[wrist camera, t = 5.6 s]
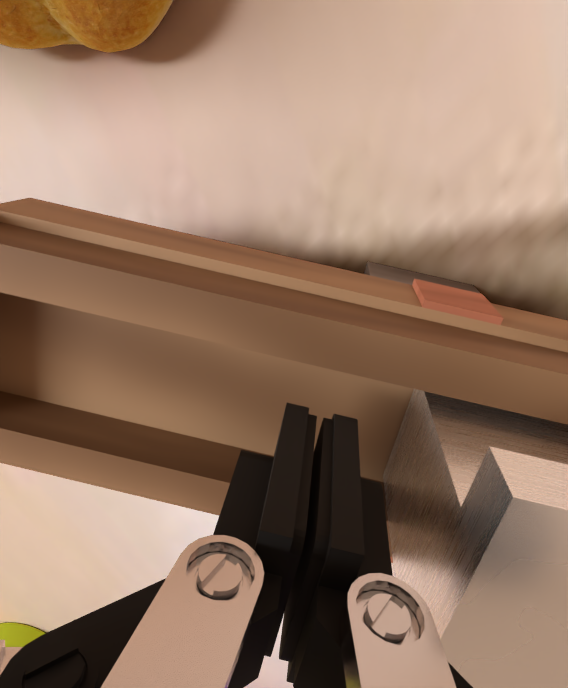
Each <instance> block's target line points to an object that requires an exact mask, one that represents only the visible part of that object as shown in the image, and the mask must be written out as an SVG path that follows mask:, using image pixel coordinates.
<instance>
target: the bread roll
mask: <svg viewBox="0 0 568 688" xmlns="http://www.w3.org/2000/svg"><path fill="white" fill-rule="evenodd" d="M172 2H173V0H0V44H2V45H6V46H9V47H12V48H22V49H37V48H46V47H54V46H58V45H63V44H79V45H85V46H86V47H89V48H91V49H95V50H99V51H103V52H110V53H111V52H117V51H122V50H126V49H130V48H134V47H135V46H137V45H139V44H141V43H142V42H143V41H145V40H146V39H147V38H148V37H149V36H150V35H151V34H152V33H153V31H154V30H155V29H156V28H157V26H158V25H159V24H160V22H161V20H162V19H163V17H164V16H165V14H166V13H167V11H168V9H169V8H170V6H171V4H172Z"/></svg>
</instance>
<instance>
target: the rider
mask: <svg viewBox="0 0 568 688" xmlns="http://www.w3.org/2000/svg"><path fill="white" fill-rule="evenodd" d="M383 480H384V489H385V497H386V506H387V514H388V523H389V531H390V540H391V549H392V557H393V566H394V574H395V577H396V578H398V579H400V580H402V581H404V582H406V583H407V584H408V585H409V586H411V587H412V588H413V589H414V590H416V591H417V592H418V594H419V595H420V596H421V597H422V598H423V600H424V601H425V602H426V604H427V606H428V608H429V610H430V612H431V614H432V616H433V619H434V622H435V625H436V628H437V631H438V634H439V637H440V640H441V643H442V646H443V649H444V652H445V655H446V658H447V661H448V662H449V663H450V664H451V665H452V666H453V667H454V668H455V669H456V670H457V671H458V673H459V674H460V675H461V676H462V677H463V678H464V679H465V680H466V681H467V682H468V683H469V684H470V685H471V686H472V687H473V688H568V425H567V424H563V423H558V422H554V421H550V420H546V419H541V418H537V417H533V416H528V415H524V414H520V413H515V412H511V411H507V410H503V409H498V408H494V407H490V406H485V405H481V404H477V403H473V402H468V401H464V400H460V399H455V398H451V397H447V396H443V395H438V394H434V393H430V392H425V391H421V390H417V389H414V391H413V393H412V396H411V399H410V402H409V405H408V407H407V410H406V413H405V416H404V418H403V421H402V424H401V427H400V430H399V432H398V435H397V438H396V441H395V443H394V446H393V449H392V452H391V455H390V457H389V460H388V463H387V466H386V468H385V471H384V474H383Z"/></svg>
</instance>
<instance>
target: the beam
mask: <svg viewBox="0 0 568 688" xmlns="http://www.w3.org/2000/svg"><path fill="white" fill-rule="evenodd" d="M414 389H417V390H421V391H425V392H430V393H434V394H438V395H443V396H447V397H451V398H455V399H460V400H464V401H468V402H473V403H477V404H481V405H485V406H490V407H494V408H498V409H503V410H507V411H511V412H515V413H520V414H524V415H528V416H533V417H537V418H541V419H546V420H550V421H554V422H558V423H563V424H567V425H568V321H567V320H563V319H559V318H554V317H550V316H545V315H541V314H537V313H532V312H528V311H523V310H519V309H515V308H510V307H506V306H502V305H497V304H493V303H490V302H489V301H488V300H487V299H486V298H485V296H484V295H483V294H481V293H480V292H479V291H478V290H477V289H476V288H475V286H474V285H469V284H465V283H460V282H456V281H452V280H447V279H443V278H438V277H434V276H430V275H425V274H421V273H417V272H412V271H408V270H403V269H399V268H395V267H390V266H386V265H381V264H377V263H373V262H368V261H367V265H366V268H365V272H364V274H362V273H357V272H353V271H348V270H344V269H340V268H335V267H331V266H327V265H322V264H318V263H313V262H309V261H305V260H300V259H296V258H291V257H287V256H283V255H278V254H274V253H270V252H265V251H261V250H256V249H252V248H248V247H243V246H239V245H235V244H230V243H226V242H221V241H217V240H213V239H208V238H204V237H200V236H195V235H191V234H186V233H182V232H178V231H173V230H169V229H165V228H160V227H156V226H151V225H147V224H143V223H138V222H134V221H130V220H125V219H121V218H116V217H112V216H108V215H103V214H99V213H95V212H90V211H86V210H81V209H77V208H73V207H68V206H64V205H59V204H55V203H51V202H46V201H42V200H38V199H33V198H26V199H21V200H16V201H11V202H6V203H1V204H0V463H4V464H8V465H12V466H16V467H21V468H25V469H29V470H33V471H37V472H41V473H45V474H50V475H54V476H58V477H62V478H66V479H70V480H75V481H79V482H83V483H87V484H91V485H95V486H99V487H104V488H108V489H112V490H116V491H120V492H124V493H128V494H133V495H137V496H141V497H145V498H149V499H153V500H157V501H162V502H166V503H170V504H174V505H178V506H182V507H186V508H191V509H195V510H199V511H203V512H207V513H211V514H215V515H220V513H221V510H222V507H223V504H224V500H225V497H226V494H227V491H228V488H229V485H230V482H231V479H232V476H233V473H234V470H235V467H236V464H237V461H238V457H239V455H240V452H241V450H245V451H250V452H254V453H258V454H262V455H266V456H271V457H274V453H275V449H276V445H277V441H278V436H279V432H280V428H281V424H282V420H283V415H284V411H285V407H286V403H292V404H296V405H300V406H304V407H308V408H309V414H311V415H315V416H317V422H316V432H315V443H314V449H315V445H316V442H317V438H318V435H319V431H320V428H321V424H322V421H323V418H328V419H332V417H333V414H338V415H342V416H347V417H351V418H355V419H357V420H358V437H359V456H360V476H361V478H363V479H367V480H371V481H375V482H380V483H381V484H382V488H383V496H384V505H385V514H386V523H387V531H388V540H389V549H390V558H391V563H393V557H392V549H391V540H390V531H389V523H388V514H387V506H386V497H385V489H384V480H383V474H384V471H385V468H386V466H387V463H388V460H389V457H390V455H391V452H392V449H393V446H394V443H395V441H396V438H397V435H398V432H399V430H400V427H401V424H402V421H403V418H404V416H405V413H406V410H407V407H408V405H409V402H410V399H411V396H412V393H413V391H414Z"/></svg>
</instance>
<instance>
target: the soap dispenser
mask: <svg viewBox="0 0 568 688" xmlns="http://www.w3.org/2000/svg"><path fill="white" fill-rule="evenodd" d="M43 634H46V633H44V632H43V631H41V630H38V629H36V628H34V627H31V626H27V625H23V624H18V623H1V624H0V640H5V647H24V646H25V645H26V644H28V643H30V642H31V641H33V640H35V639H36V638H38V637H40V636H41V635H43Z"/></svg>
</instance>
